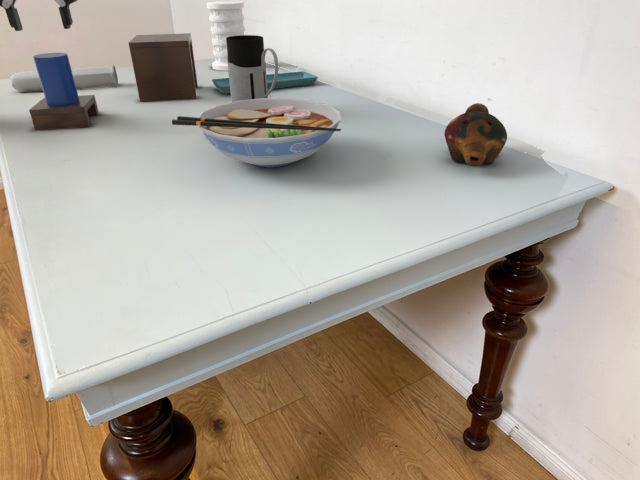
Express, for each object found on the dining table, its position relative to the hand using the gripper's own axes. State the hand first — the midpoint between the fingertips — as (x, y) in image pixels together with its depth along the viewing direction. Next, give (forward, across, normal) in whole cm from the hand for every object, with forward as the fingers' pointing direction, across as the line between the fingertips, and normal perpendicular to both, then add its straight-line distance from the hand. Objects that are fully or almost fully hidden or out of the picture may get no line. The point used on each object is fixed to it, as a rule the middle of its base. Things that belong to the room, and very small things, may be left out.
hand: (43, 29), depth 90 cm
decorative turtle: (+18, -71, +38) cm, 82 cm away
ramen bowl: (+18, -39, +31) cm, 53 cm away
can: (+14, 0, 0) cm, 14 cm away
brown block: (+18, -19, -20) cm, 33 cm away
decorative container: (+18, -35, -52) cm, 65 cm away
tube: (+18, +8, -32) cm, 37 cm away
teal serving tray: (+18, -43, -22) cm, 51 cm away
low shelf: (+18, 0, 0) cm, 18 cm away
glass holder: (+18, -39, +3) cm, 43 cm away
